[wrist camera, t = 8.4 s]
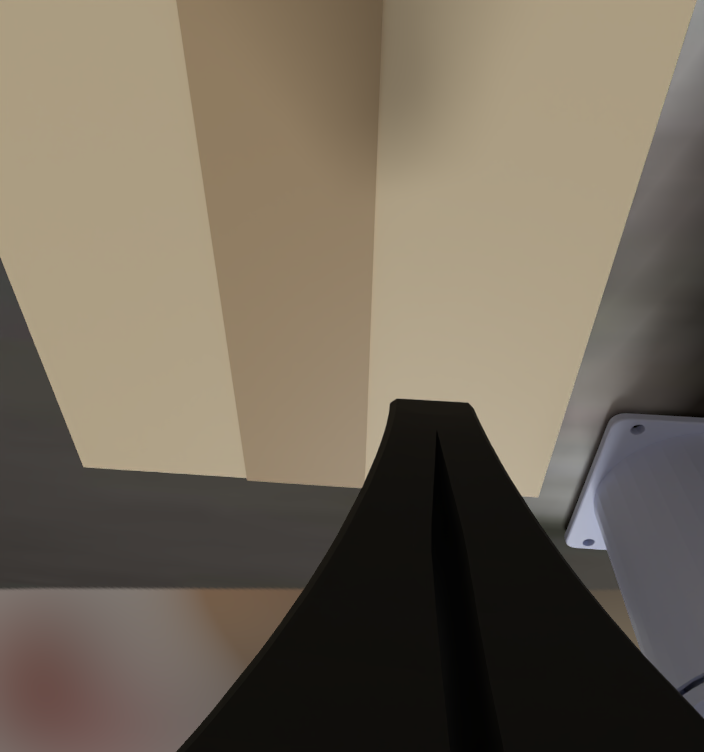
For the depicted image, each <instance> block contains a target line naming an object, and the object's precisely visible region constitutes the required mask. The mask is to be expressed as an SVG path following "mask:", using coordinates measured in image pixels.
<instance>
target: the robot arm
mask: <svg viewBox="0 0 704 752" xmlns="http://www.w3.org/2000/svg"><path fill="white" fill-rule="evenodd" d="M635 425H640V426H638V427H636V428H632V427H633V426H635ZM565 541H566V543H567V545H568V546H570V547H574V548H586V549H600V550H607V552H608V555H609V558H610V561H611V564H612V567H613V570H614V573H615V576H616V579H617V582H618V584H619V587H620V590H621V593H622V596H623V599H624V602H625V605H626V608H627V611H628V614H629V617H630V620H631V623H632V626H633V629H634V632H635V635H636V638H637V641H638V644H639V647H640V650H641V651H640V650H639V649H638V648H637V647H636V646H635V645H634V644H633V643H632V641H631V640H630V639H629V638H628V637H627V635H626V634H625V633H624V632H623V631H622V630H621V628H619V626H618V625H617V624H616V623H615V622H614V620H613V619H612V618H611V617H610V616H609V615H608V613H607V612H606V611H605V610H604V609H603V607H602V606H601V605H600V604H599V602H598V601H597V600H596V599H595V597H594V596H593V595H592V594H591V593H590V591H589V590H588V589H587V588H586V586H585V585H584V584H583V583H582V581H581V580H580V579H579V577H578V576H577V575H576V574H575V572H574V571H573V570H572V568H571V567H570V566H569V564H568V563H567V562H566V560H565V559H564V558H563V556H562V555H561V554H560V552H559V551H558V549H557V548H556V546H555V545H554V544H553V542H552V541H551V539H550V538H549V537H548V535H547V534H546V532H545V531H544V529H543V528H542V527H541V525H540V524H539V522H538V521H537V519H536V518H535V516H534V515H533V513H532V512H531V510H530V509H529V507H528V505H527V504H526V502H525V501H524V499H523V497H522V496H521V494H520V493H519V491H518V489H517V488H516V486H515V485H514V483H513V481H512V480H511V478H510V477H509V475H508V473H507V471H506V470H505V468H504V466H503V465H502V463H501V461H500V459H499V458H498V456H497V454H496V452H495V450H494V448H493V447H492V445H491V443H490V441H489V439H488V437H487V435H486V433H485V431H484V429H483V427H482V425H481V423H480V421H479V419H478V417H477V415H476V412H475V410H474V408H473V407H472V406H471V405H470V404H469V403H467V402H450V401H432V400H415V399H398V398H397V399H395V400H394V401H392V402H391V403H390V406H389V415H388V419H387V424H386V427H385V431H384V434H383V437H382V440H381V443H380V446H379V448H378V451H377V454H376V456H375V459H374V461H373V463H372V466H371V468H370V470H369V473H368V475H367V477H366V480H365V482H364V484H363V486H362V489H361V491H360V493H359V495H358V497H357V499H356V501H355V503H354V504H353V506H352V508H351V510H350V512H349V514H348V516H347V518H346V520H345V522H344V524H343V525H342V527H341V529H340V531H339V533H338V535H337V536H336V538H335V540H334V542H333V543H332V545H331V547H330V549H329V550H328V552H327V554H326V555H325V557H324V559H323V560H322V562H321V563H320V565H319V567H318V568H317V570H316V571H315V573H314V574H313V576H312V578H311V579H310V581H309V582H308V584H307V585H306V587H305V588H304V590H303V591H302V593H301V594H300V596H299V597H298V599H297V600H296V601H295V603H294V605H293V606H292V607H291V609H290V610H289V612H288V613H287V614H286V616H285V617H284V619H283V620H282V622H281V623H280V625H279V626H278V627H277V629H276V630H275V631H274V633H273V634H272V636H271V637H270V638H269V640H268V641H267V642H266V644H265V645H264V646H263V648H262V649H261V650H260V652H259V653H258V654H257V655H256V657H255V658H254V659H253V661H252V662H251V663H250V664H249V665H248V667H247V668H246V669H245V670H244V672H243V673H242V674H241V675H240V677H239V678H238V679H237V680H236V682H235V683H234V684H233V685H232V687H231V688H230V689H229V690H228V692H227V693H226V694H225V695H224V697H223V698H222V699H221V700H220V702H219V703H218V704H217V705H216V707H215V708H214V709H213V710H212V712H211V713H210V714H209V715H208V717H206V719H205V720H204V721H203V722H202V723H201V725H200V726H199V727H198V728H197V729H196V731H194V733H193V734H192V735H191V736H190V737H189V738H188V739H187V740H186V741H185V743H184V744H183V745H182V746H181V747H180V748H179V749H178V750H177V752H704V418H700V417H683V416H665V415H648V414H631V413H622V414H618V415H615V416H614V417H612V418H611V419H610V421H609V422H608V424H607V427H606V430H605V432H604V435H603V437H602V440H601V443H600V445H599V448H598V450H597V453H596V455H595V458H594V461H593V463H592V466H591V468H590V471H589V473H588V476H587V479H586V481H585V484H584V486H583V489H582V491H581V494H580V497H579V499H578V502H577V504H576V507H575V509H574V512H573V515H572V517H571V520H570V522H569V525H568V527H567V530H566V533H565Z"/></svg>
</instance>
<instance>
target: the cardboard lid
mask: <svg viewBox="0 0 704 752" xmlns="http://www.w3.org/2000/svg"><path fill="white" fill-rule="evenodd" d="M696 1H697V0H0V257H1V260H2V262H3V265H4V267H5V270H6V273H7V275H8V278H9V280H10V283H11V285H12V288H13V290H14V293H15V295H16V298H17V300H18V303H19V305H20V308H21V310H22V313H23V315H24V318H25V320H26V323H27V325H28V328H29V331H30V333H31V336H32V338H33V341H34V343H35V346H36V348H37V351H38V353H39V356H40V358H41V361H42V363H43V366H44V368H45V371H46V373H47V376H48V378H49V381H50V384H51V386H52V389H53V391H54V394H55V396H56V399H57V401H58V404H59V406H60V409H61V411H62V414H63V416H64V419H65V421H66V424H67V426H68V429H69V431H70V434H71V437H72V439H73V442H74V444H75V447H76V449H77V452H78V454H79V457H80V459H81V462H82V464H83V467H89V468H104V469H119V470H134V471H149V472H164V473H179V474H194V475H209V476H224V477H239V478H247V481H262V482H277V483H292V484H307V485H322V486H337V487H352V488H362V486H363V484H364V482H365V480H366V477H367V475H368V473H369V470H370V468H371V466H372V463H373V461H374V459H375V456H376V454H377V451H378V448H379V446H380V443H381V440H382V437H383V434H384V431H385V427H386V424H387V419H388V415H389V406H390V403H391V402H392V401H394V400H395V399H397V398H398V399H415V400H432V401H450V402H467V403H469V404H470V405H471V406H472V407H473V408H474V410H475V412H476V415H477V417H478V419H479V421H480V423H481V425H482V427H483V429H484V431H485V433H486V435H487V437H488V439H489V441H490V443H491V445H492V447H493V448H494V450H495V452H496V454H497V456H498V458H499V459H500V461H501V463H502V465H503V466H504V468H505V470H506V471H507V473H508V475H509V477H510V478H511V480H512V481H513V483H514V485H515V486H516V488H517V489H518V491H519V493H520V494H521V496H525V497H539V494H540V490H541V487H542V484H543V481H544V478H545V475H546V472H547V468H548V465H549V462H550V459H551V456H552V453H553V450H554V446H555V443H556V440H557V437H558V434H559V431H560V428H561V424H562V421H563V418H564V415H565V412H566V409H567V406H568V403H569V399H570V396H571V393H572V390H573V387H574V384H575V381H576V377H577V374H578V371H579V368H580V365H581V362H582V359H583V355H584V352H585V349H586V346H587V343H588V340H589V337H590V333H591V330H592V327H593V324H594V321H595V318H596V315H597V312H598V308H599V305H600V302H601V299H602V296H603V293H604V290H605V286H606V283H607V280H608V277H609V274H610V271H611V268H612V264H613V261H614V258H615V255H616V252H617V249H618V246H619V242H620V239H621V236H622V233H623V230H624V227H625V224H626V221H627V217H628V214H629V211H630V208H631V205H632V202H633V199H634V195H635V192H636V189H637V186H638V183H639V180H640V177H641V173H642V170H643V167H644V164H645V161H646V158H647V155H648V151H649V148H650V145H651V142H652V139H653V136H654V133H655V130H656V126H657V123H658V120H659V117H660V114H661V111H662V108H663V104H664V101H665V98H666V95H667V92H668V89H669V86H670V82H671V79H672V76H673V73H674V70H675V67H676V64H677V60H678V57H679V54H680V51H681V48H682V45H683V42H684V39H685V35H686V32H687V29H688V26H689V23H690V20H691V17H692V13H693V10H694V7H695V4H696Z"/></svg>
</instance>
